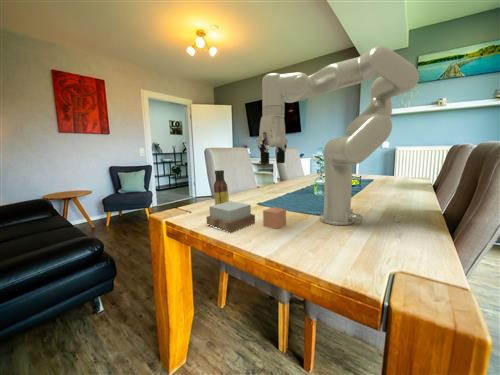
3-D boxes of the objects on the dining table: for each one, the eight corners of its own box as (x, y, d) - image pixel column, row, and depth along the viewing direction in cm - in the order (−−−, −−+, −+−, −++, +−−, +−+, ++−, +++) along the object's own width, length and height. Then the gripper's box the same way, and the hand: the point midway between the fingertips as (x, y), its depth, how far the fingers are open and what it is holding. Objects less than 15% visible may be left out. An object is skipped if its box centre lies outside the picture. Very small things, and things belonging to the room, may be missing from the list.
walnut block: (255, 224, 84) (254, 214, 84) (230, 234, 75) (230, 223, 74) (231, 218, 93) (231, 209, 92) (207, 227, 83) (206, 216, 82)
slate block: (250, 214, 84) (250, 204, 83) (230, 222, 75) (229, 211, 75) (230, 210, 91) (230, 201, 90) (210, 216, 82) (209, 206, 82)
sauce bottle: (230, 211, 101) (229, 169, 98) (228, 215, 95) (226, 170, 92) (217, 211, 102) (214, 169, 99) (213, 215, 96) (211, 170, 93)
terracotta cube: (285, 225, 81) (285, 209, 80) (276, 229, 77) (276, 213, 76) (272, 222, 85) (272, 207, 84) (263, 226, 81) (263, 210, 80)
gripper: (278, 117, 84) (277, 162, 86) (248, 111, 71) (249, 164, 74) (295, 115, 79) (294, 162, 82) (267, 108, 66) (267, 164, 69)
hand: (273, 163), depth 78 cm, fingers open, 9 cm apart
